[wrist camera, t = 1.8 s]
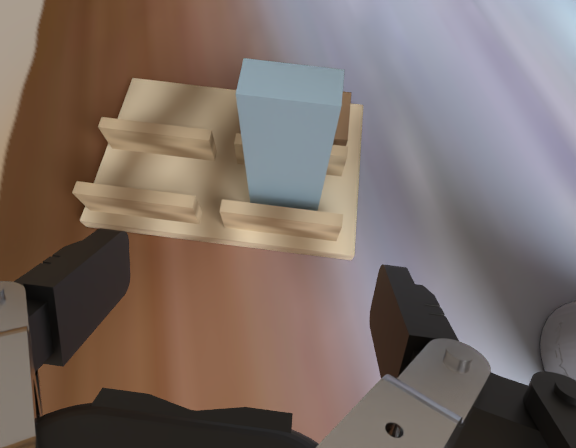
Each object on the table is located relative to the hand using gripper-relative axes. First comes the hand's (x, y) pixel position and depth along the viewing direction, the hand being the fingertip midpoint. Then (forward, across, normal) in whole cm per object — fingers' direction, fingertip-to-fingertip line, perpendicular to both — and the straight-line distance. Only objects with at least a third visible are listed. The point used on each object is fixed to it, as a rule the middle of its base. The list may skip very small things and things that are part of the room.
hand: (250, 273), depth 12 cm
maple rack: (+23, +5, +2) cm, 24 cm away
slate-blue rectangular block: (+20, 0, +4) cm, 21 cm away
